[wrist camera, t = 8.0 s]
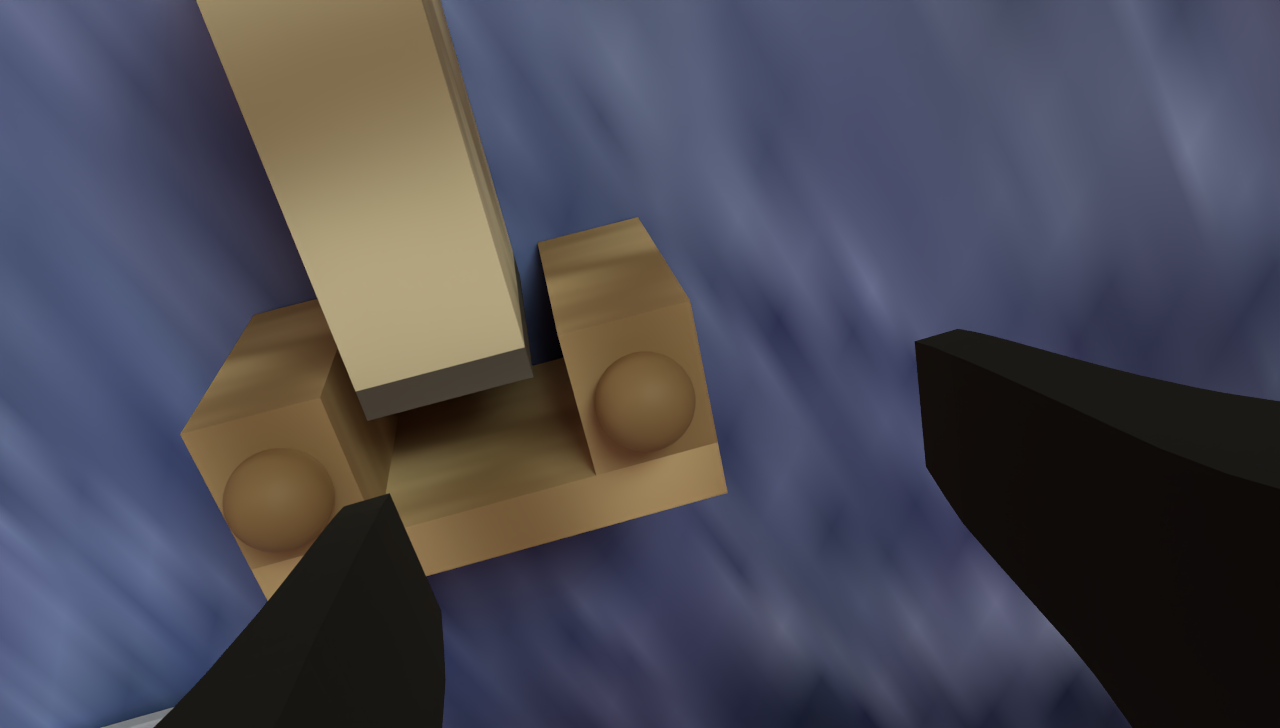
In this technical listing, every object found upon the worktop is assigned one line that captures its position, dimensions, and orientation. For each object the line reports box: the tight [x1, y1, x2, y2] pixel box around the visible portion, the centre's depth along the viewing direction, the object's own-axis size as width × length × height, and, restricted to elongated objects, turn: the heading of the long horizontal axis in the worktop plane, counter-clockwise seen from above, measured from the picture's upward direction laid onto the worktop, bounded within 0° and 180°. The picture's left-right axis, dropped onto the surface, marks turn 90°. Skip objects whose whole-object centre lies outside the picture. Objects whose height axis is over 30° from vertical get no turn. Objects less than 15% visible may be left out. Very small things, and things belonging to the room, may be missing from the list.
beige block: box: [196, 0, 534, 421], centre depth 16 cm, size 10×3×6 cm, turn 12°
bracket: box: [180, 217, 727, 600], centre depth 18 cm, size 9×4×7 cm, turn 102°
